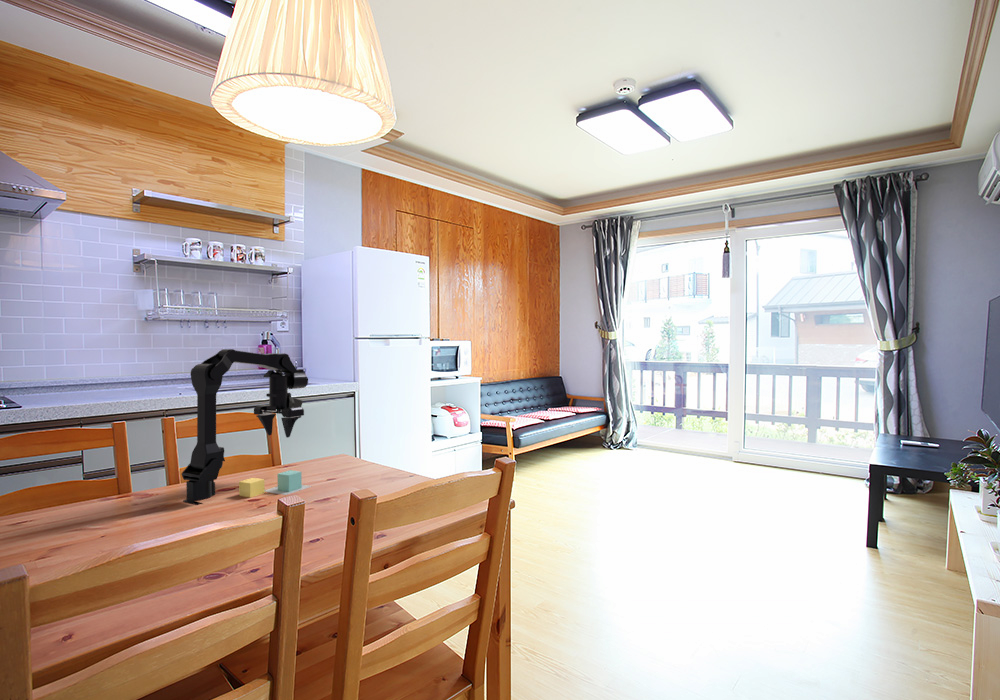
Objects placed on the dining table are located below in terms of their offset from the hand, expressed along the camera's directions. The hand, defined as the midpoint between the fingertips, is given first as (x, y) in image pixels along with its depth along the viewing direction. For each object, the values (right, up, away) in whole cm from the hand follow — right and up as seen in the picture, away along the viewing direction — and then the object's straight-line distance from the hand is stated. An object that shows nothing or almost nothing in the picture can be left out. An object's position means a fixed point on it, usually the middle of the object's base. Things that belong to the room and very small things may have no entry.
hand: (278, 436), depth 172 cm
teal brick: (+10, -13, -16) cm, 24 cm away
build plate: (+10, -14, -16) cm, 23 cm away
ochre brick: (+1, -14, -22) cm, 26 cm away
